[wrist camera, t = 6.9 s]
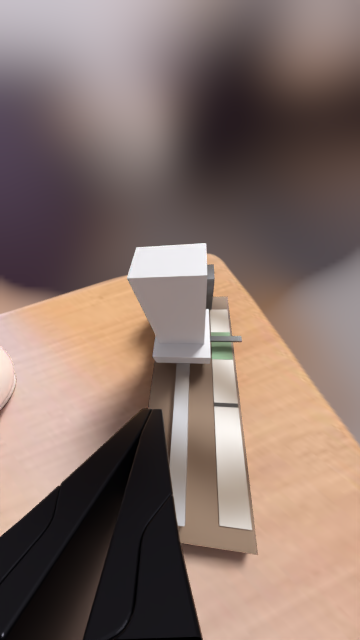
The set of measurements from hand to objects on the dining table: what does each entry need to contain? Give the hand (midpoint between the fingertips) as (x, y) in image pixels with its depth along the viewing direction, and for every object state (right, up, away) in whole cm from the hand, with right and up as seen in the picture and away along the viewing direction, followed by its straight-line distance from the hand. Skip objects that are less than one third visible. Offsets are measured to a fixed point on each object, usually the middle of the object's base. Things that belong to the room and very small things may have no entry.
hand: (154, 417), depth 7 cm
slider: (+3, +2, +10) cm, 10 cm away
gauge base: (+3, -2, +10) cm, 10 cm away
